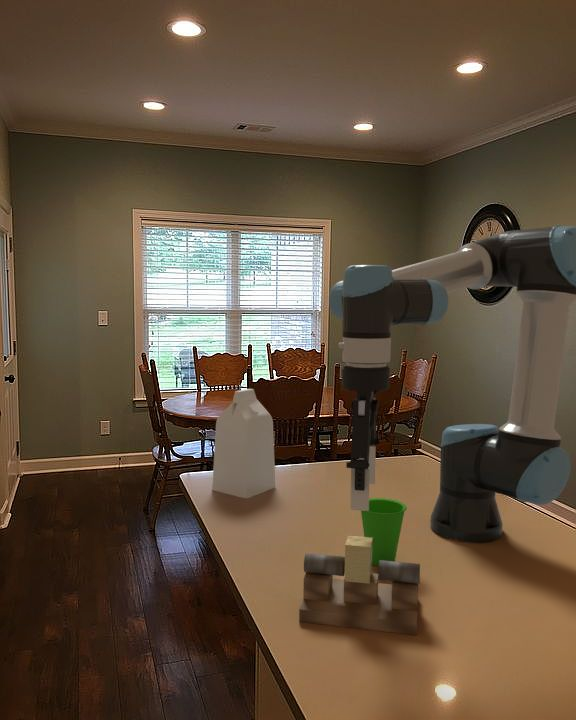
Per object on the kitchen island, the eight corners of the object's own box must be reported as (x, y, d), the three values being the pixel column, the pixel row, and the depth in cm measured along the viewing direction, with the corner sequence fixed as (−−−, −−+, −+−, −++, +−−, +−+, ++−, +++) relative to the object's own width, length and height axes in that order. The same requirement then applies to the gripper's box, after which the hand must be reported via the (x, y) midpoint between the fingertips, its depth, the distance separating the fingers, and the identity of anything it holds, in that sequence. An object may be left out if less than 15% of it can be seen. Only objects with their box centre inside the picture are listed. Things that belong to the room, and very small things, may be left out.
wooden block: (371, 573, 105) (372, 537, 105) (369, 583, 102) (370, 547, 101) (347, 570, 106) (348, 535, 106) (344, 581, 102) (345, 544, 102)
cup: (393, 575, 117) (395, 516, 116) (349, 563, 122) (350, 507, 121) (412, 558, 125) (413, 503, 124) (369, 548, 130) (370, 495, 129)
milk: (241, 479, 176) (242, 385, 174) (275, 487, 170) (276, 389, 167) (212, 490, 167) (211, 390, 164) (246, 498, 160) (246, 395, 157)
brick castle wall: (418, 598, 108) (420, 550, 108) (417, 635, 97) (419, 581, 96) (311, 587, 112) (311, 540, 111) (297, 621, 100) (298, 569, 100)
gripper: (350, 355, 114) (348, 472, 116) (331, 373, 90) (329, 520, 92) (393, 356, 112) (390, 475, 115) (386, 375, 88) (382, 524, 90)
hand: (363, 495), depth 103 cm, fingers open, 13 cm apart
